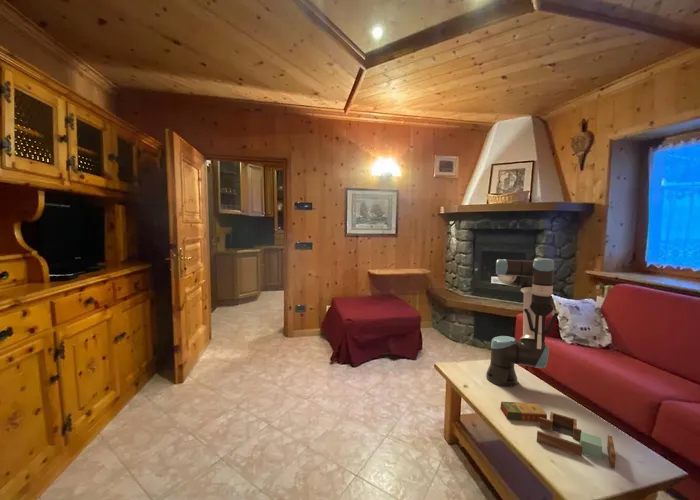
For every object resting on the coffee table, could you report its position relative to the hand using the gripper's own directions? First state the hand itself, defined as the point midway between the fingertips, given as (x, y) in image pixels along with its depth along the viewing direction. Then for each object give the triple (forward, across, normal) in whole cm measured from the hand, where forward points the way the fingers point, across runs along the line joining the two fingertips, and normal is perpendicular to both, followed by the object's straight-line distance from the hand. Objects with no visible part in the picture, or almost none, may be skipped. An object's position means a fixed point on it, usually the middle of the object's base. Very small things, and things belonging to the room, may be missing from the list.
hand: (539, 347), depth 135 cm
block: (+31, +19, -14) cm, 38 cm away
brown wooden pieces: (+30, +14, -11) cm, 35 cm away
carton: (+31, -4, -4) cm, 32 cm away
